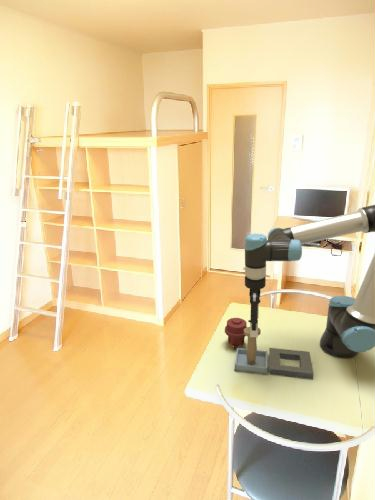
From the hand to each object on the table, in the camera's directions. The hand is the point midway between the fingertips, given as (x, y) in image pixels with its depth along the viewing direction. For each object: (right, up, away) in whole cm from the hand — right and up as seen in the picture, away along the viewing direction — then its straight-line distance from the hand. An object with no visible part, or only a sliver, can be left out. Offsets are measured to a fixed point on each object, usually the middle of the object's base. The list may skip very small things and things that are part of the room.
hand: (254, 327), depth 136 cm
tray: (0, -16, +6) cm, 17 cm away
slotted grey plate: (+15, -16, +4) cm, 22 cm away
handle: (0, -15, +5) cm, 16 cm away
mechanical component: (-5, -12, +18) cm, 22 cm away
